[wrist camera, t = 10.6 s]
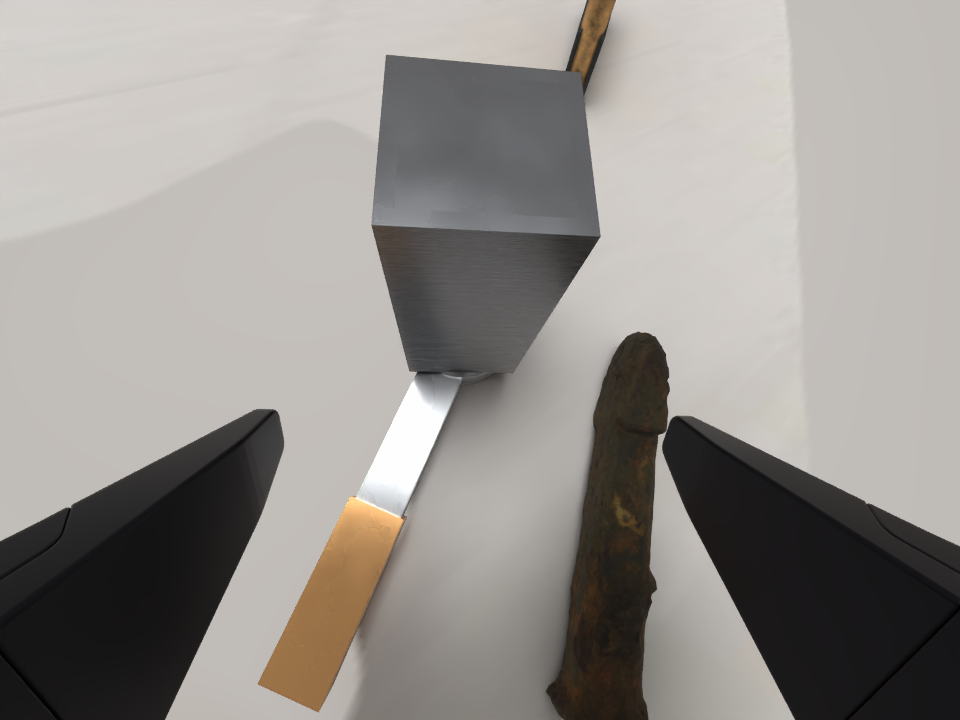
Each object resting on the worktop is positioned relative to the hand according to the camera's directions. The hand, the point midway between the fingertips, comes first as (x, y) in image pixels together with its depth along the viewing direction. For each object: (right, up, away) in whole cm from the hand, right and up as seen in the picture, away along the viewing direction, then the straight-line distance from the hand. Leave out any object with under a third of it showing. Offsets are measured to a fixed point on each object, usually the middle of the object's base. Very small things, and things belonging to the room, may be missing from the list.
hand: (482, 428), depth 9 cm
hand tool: (+6, -6, +13) cm, 16 cm away
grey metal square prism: (-1, +4, +13) cm, 14 cm away
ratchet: (-4, -4, +12) cm, 14 cm away
